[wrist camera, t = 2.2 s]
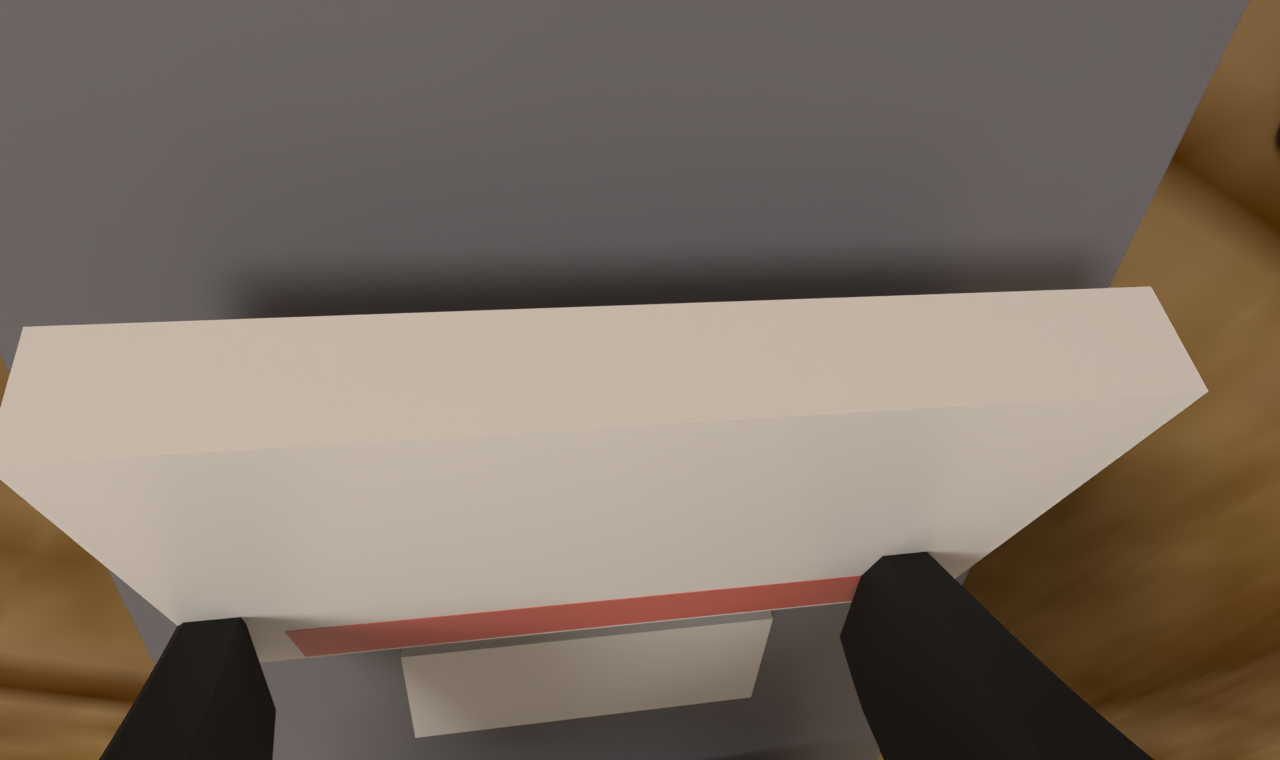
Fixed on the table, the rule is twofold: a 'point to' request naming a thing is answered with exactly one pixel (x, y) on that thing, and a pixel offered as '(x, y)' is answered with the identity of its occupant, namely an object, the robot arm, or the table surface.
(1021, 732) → the robot arm
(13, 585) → the table surface
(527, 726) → the rocker switch panel
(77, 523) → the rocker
